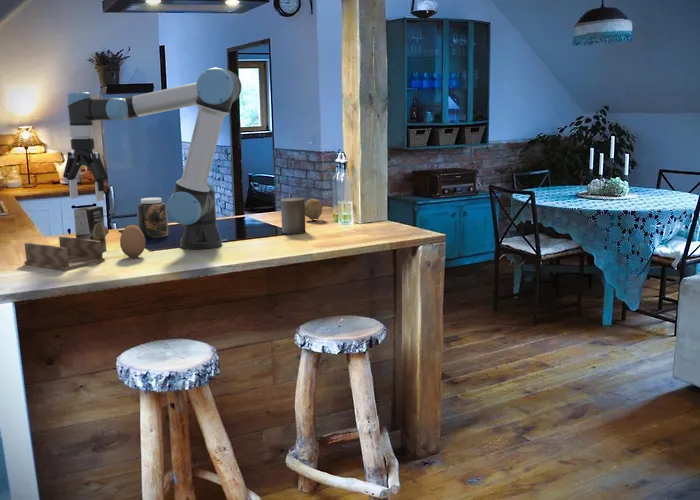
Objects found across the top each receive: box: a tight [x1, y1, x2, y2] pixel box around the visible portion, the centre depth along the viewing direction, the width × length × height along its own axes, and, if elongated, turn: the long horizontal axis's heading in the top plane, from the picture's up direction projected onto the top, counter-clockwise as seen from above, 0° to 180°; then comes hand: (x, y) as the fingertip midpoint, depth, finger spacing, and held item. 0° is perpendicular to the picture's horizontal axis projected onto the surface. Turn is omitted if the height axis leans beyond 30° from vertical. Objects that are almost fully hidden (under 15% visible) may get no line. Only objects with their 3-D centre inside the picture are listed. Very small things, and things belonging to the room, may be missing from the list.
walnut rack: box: [23, 236, 105, 272], centre depth 234 cm, size 20×16×7 cm
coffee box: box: [73, 206, 107, 253], centre depth 250 cm, size 9×6×16 cm
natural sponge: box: [305, 198, 323, 220], centre depth 316 cm, size 9×9×10 cm
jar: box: [136, 197, 169, 239], centre depth 282 cm, size 12×12×15 cm
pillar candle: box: [280, 196, 306, 235], centre depth 286 cm, size 10×10×15 cm
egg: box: [119, 224, 146, 259], centre depth 241 cm, size 8×8×11 cm
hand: (86, 199), depth 248 cm, fingers open, 13 cm apart
